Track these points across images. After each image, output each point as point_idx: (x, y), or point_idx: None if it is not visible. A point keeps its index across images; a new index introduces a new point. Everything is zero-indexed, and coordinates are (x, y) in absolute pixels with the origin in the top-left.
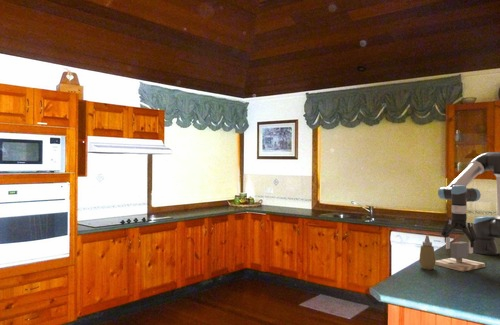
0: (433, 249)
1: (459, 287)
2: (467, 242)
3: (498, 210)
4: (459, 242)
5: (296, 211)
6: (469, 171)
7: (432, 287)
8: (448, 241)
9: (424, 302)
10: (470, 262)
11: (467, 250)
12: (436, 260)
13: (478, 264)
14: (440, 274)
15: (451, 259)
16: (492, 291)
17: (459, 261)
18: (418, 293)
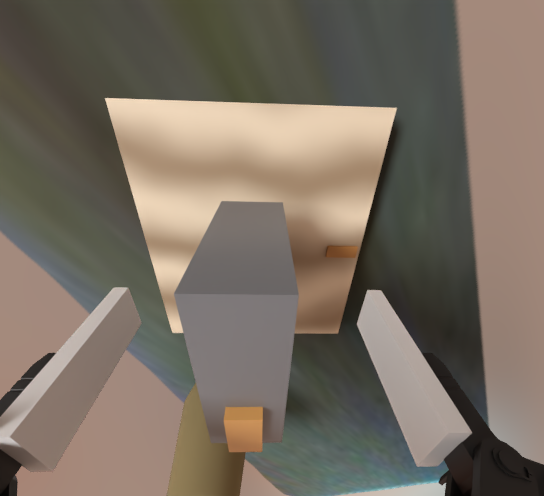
0: (237, 485)
1: (399, 429)
2: (297, 296)
3: None
4: (231, 374)
5: None
6: None
7: (352, 454)
8: (84, 380)
9: (381, 487)
10: (305, 193)
11: (287, 230)
12: (168, 317)
13: (370, 200)
14: (302, 392)
15: (176, 226)
16: (479, 407)
17: None
18: (352, 477)
